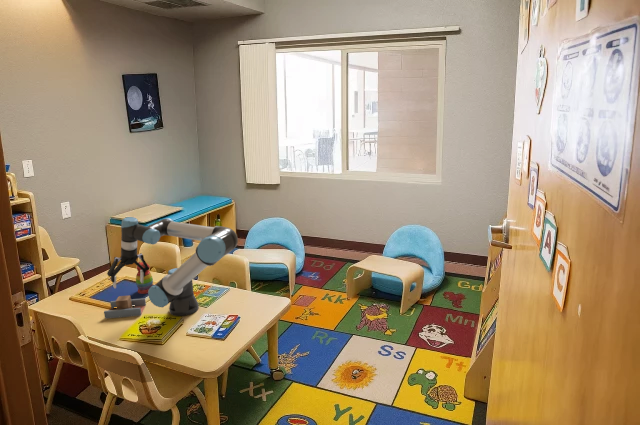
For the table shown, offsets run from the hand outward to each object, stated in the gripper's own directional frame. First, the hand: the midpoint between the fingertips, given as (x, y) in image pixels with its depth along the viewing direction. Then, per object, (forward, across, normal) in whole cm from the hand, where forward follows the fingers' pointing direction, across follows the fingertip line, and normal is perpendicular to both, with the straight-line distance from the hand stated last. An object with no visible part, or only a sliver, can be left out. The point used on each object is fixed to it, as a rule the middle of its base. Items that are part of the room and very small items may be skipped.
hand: (128, 284), depth 239 cm
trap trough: (+19, -1, -4) cm, 19 cm away
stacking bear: (+20, -18, -24) cm, 36 cm away
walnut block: (+19, 0, -5) cm, 19 cm away
